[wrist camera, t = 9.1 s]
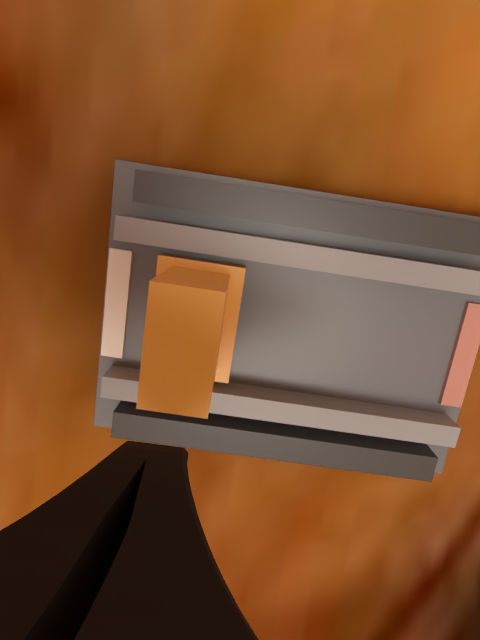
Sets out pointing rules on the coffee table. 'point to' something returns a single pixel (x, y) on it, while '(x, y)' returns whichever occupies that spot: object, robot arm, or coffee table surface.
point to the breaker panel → (301, 320)
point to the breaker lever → (188, 333)
